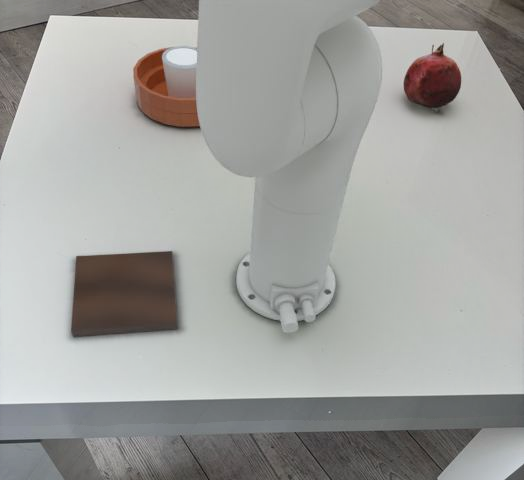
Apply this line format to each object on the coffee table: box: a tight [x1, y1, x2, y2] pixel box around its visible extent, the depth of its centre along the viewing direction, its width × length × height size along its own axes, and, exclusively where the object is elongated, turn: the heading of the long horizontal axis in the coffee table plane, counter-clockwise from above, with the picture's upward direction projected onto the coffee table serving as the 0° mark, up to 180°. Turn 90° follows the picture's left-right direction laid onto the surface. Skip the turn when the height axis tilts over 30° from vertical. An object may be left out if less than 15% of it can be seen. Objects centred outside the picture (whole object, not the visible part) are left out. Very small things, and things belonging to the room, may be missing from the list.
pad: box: [70, 250, 178, 338], centre depth 66 cm, size 12×12×1 cm
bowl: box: [132, 46, 200, 128], centre depth 90 cm, size 16×16×5 cm
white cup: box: [162, 45, 197, 98], centre depth 88 cm, size 7×7×7 cm
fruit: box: [403, 42, 462, 113], centre depth 92 cm, size 9×10×10 cm
